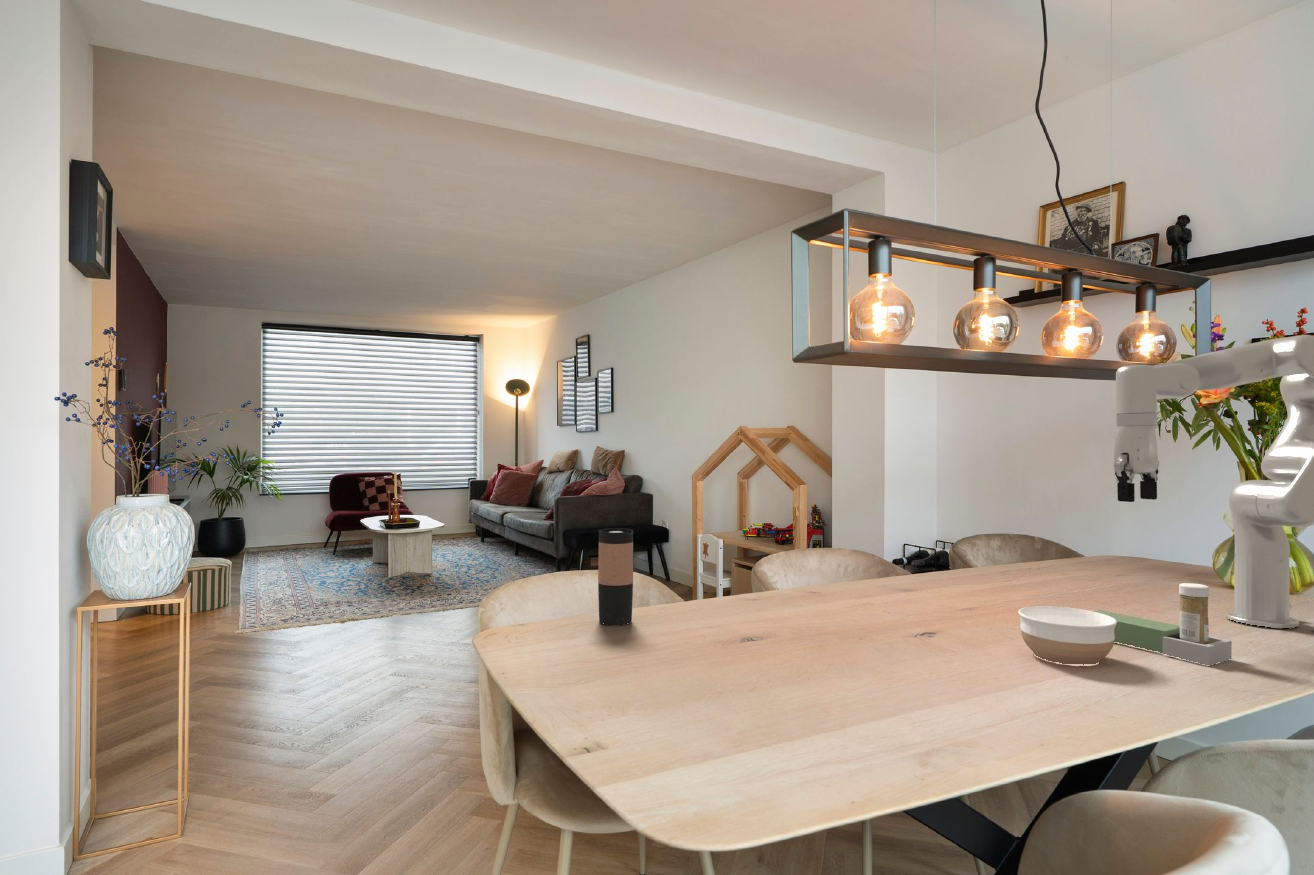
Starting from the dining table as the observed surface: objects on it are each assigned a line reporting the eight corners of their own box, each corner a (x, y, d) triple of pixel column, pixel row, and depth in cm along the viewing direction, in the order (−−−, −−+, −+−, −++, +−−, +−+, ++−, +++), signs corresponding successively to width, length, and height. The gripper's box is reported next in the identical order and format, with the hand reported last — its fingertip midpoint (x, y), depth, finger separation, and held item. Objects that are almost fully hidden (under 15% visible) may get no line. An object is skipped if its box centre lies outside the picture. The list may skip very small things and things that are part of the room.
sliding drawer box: (1101, 630, 156) (1101, 609, 156) (1231, 659, 136) (1231, 635, 136) (1077, 635, 152) (1078, 614, 152) (1208, 666, 132) (1208, 641, 132)
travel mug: (592, 619, 164) (593, 529, 164) (624, 616, 167) (625, 527, 167) (605, 627, 157) (605, 533, 157) (638, 624, 160) (638, 531, 160)
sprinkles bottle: (1215, 660, 136) (1215, 586, 136) (1193, 661, 135) (1193, 587, 135) (1194, 653, 140) (1194, 582, 140) (1172, 653, 140) (1172, 582, 140)
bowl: (1132, 674, 127) (1132, 628, 127) (1032, 668, 130) (1032, 623, 131) (1097, 649, 143) (1097, 608, 143) (1008, 644, 146) (1008, 603, 146)
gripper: (1137, 422, 169) (1138, 497, 169) (1097, 422, 160) (1098, 501, 160) (1174, 421, 163) (1175, 499, 163) (1135, 421, 154) (1136, 503, 154)
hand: (1137, 500), depth 162 cm, fingers open, 9 cm apart
